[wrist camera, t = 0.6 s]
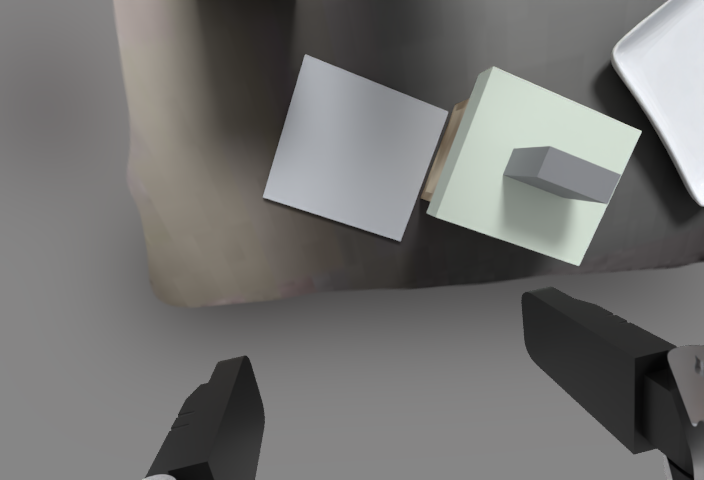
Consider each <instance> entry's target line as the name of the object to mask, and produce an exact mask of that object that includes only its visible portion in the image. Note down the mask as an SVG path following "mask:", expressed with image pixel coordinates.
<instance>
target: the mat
mask: <svg viewBox="0 0 704 480" xmlns="http://www.w3.org/2000/svg"><path fill="white" fill-rule="evenodd" d="M447 115H448V111H445V110H443V109H440V108H438V107H435V106H433V105H431V104H428V103H426V102H423V101H421V100H418V99H416V98H413V97H411V96H408V95H406V94H403V93H401V92H398V91H396V90H393V89H391V88H388V87H386V86H383V85H381V84H378V83H376V82H373V81H371V80H368V79H366V78H363V77H361V76H358V75H356V74H353V73H351V72H348V71H346V70H343V69H341V68H338V67H336V66H333V65H331V64H328V63H326V62H323V61H321V60H318V59H316V58H313V57H311V56H308V55H306V54H305V56H304V59H303V63H302V66H301V70H300V73H299V76H298V80H297V83H296V87H295V90H294V93H293V97H292V100H291V103H290V107H289V110H288V114H287V117H286V120H285V124H284V127H283V131H282V134H281V137H280V141H279V144H278V147H277V151H276V154H275V158H274V161H273V164H272V168H271V171H270V175H269V178H268V181H267V185H266V188H265V191H264V195H263V197H264V198H267V199H270V200H273V201H276V202H279V203H282V204H285V205H289V206H292V207H295V208H298V209H301V210H304V211H307V212H310V213H313V214H317V215H320V216H323V217H326V218H329V219H332V220H335V221H338V222H341V223H345V224H348V225H351V226H354V227H357V228H360V229H363V230H366V231H370V232H373V233H376V234H379V235H382V236H385V237H388V238H391V239H394V240H398V241H401V239H402V236H403V233H404V231H405V228H406V225H407V223H408V220H409V217H410V215H411V212H412V209H413V207H414V204H415V201H416V199H417V196H418V193H419V190H420V188H421V185H422V182H423V180H424V177H425V174H426V172H427V169H428V166H429V164H430V161H431V158H432V155H433V153H434V150H435V147H436V145H437V142H438V139H439V137H440V134H441V131H442V129H443V126H444V123H445V120H446V118H447Z"/></svg>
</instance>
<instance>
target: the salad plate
mask: <svg viewBox="0 0 704 480" xmlns="http://www.w3.org/2000/svg"><path fill="white" fill-rule="evenodd" d="M611 63H612V66H613V67H614V69H615V71H616V72H617V74H618V75H619V76H620V78H621V79H622V81H623V82H624V83H625V85H626V86H627V88H628V89H629V90H630V92H631V93H632V95H633V96H634V98H635V99H636V101H637V102H638V104H639V105H640V107H641V108H642V110H643V111H644V113H645V114H646V116H647V118H648V119H649V121H650V123H651V124H652V126H653V128H654V129H655V131H656V133H657V134H658V136H659V138H660V140H661V141H662V143H663V145H664V146H665V148H666V150H667V152H668V154H669V156H670V158H671V160H672V161H673V163H674V165H675V167H676V169H677V171H678V173H679V175H680V177H681V179H682V181H683V183H684V185H685V187H686V189H687V191H688V193H689V194H690V196H691V197H692V198H693V200H694V201H695V202H696V203H697V204H698V205H700V206H703V207H704V0H668V1H667V2H665V3H664V4H663V5H662V6H660V7H659V8H658V9H656V10H655V11H654V12H653V13H651V14H650V15H649V16H648V17H646V18H645V19H644V20H643V21H641V22H640V23H639V24H638V25H637V26H635V27H634V28H633V29H632V30H631V31H629V32H628V33H627V34H626V35H625V36H624V37H623V38H622V39H621V40H620V41H619V42H618V43H617V44H616V45H615V46H614V48H613V50H612V53H611Z"/></svg>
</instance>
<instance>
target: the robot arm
mask: <svg viewBox="0 0 704 480" xmlns="http://www.w3.org/2000/svg"><path fill="white" fill-rule="evenodd" d="M522 314H523V326H524V327H523V328H524V340H525V345H526V349H527V351H528V353H529V355H530V357H531V359H532V360H533V361H534V362H535V363H536V364H537V365H538V366H539V367H540V368H541V369H542V370H543V371H544V372H545V373H546V374H547V375H549V376H550V377H551V378H552V379H553V380H554V381H555V382H556V383H557V384H558V385H559V386H560V387H562V388H563V389H564V390H565V391H566V392H567V393H568V394H569V395H570V396H571V397H572V398H573V399H574V400H576V401H577V402H578V403H579V404H580V405H581V406H582V407H583V408H584V409H585V410H586V411H587V412H589V413H590V414H591V415H592V416H593V417H594V418H595V419H596V420H597V421H598V422H600V423H601V424H602V425H603V426H604V427H605V428H606V429H607V430H608V431H609V432H610V433H611V434H613V435H614V436H615V437H616V438H617V439H618V440H619V441H620V442H621V443H622V444H623V445H624V446H626V448H628V449H629V450H630V451H631V452H632V453H633V454H638V453H641V452H645V451H649V450H653V449H657V448H658V449H659V450H660V451H661V452H662V453H664V470H665V474H666V478H667V480H704V345H686V346H680V347H676V346H675V345H673V344H671V343H669V342H667V341H665V340H663V339H661V338H659V337H657V336H655V335H653V334H651V333H650V332H648V331H646V330H644V329H642V328H640V327H638V326H636V325H634V324H632V323H627V321H626V320H625V319H623V318H621V317H619V316H617V315H613V313H611V312H609V311H607V310H605V309H603V308H602V307H600V306H597V305H595V304H592V303H588V302H585V301H581V300H577V299H574V298H572V297H570V296H568V295H566V294H565V293H562V292H561V291H559V290H557V289H555V288H553V287H547V288H542V289H538V290H534V291H529V292H525V293H524V294H523V295H522ZM264 424H265V416H264V408H263V403H262V399H261V396H260V392H259V389H258V386H257V382H256V379H255V376H254V372H253V369H252V365H251V363H250V360H249V358H248V357H247V356H241V357H237V358H232V359H228V360H224V361H220V362H218V364H217V365H216V367H215V369H214V372H213V374H212V376H211V379H210V380H209V382H208V383H206V384H201V385H200V386H199V387H198V388H197V389H196V390H195V391H194V392H193V393H192V394H191V395H190V396H189V397H188V398H187V399H186V400H185V402H184V404H183V406H182V408H181V410H180V412H179V414H178V418H176V420H175V422H174V424H173V425H172V427H171V431H169V433H168V435H167V437H166V439H165V441H164V443H163V445H162V446H161V449H160V450H159V452H158V454H157V456H156V458H155V460H154V462H153V464H152V466H151V468H150V470H149V471H148V474H147V475H146V477H145V479H142V480H255V476H256V471H257V465H258V459H259V454H260V448H261V442H262V437H263V431H264Z"/></svg>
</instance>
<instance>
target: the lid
mask: <svg viewBox="0 0 704 480" xmlns="http://www.w3.org/2000/svg"><path fill="white" fill-rule="evenodd" d="M641 132H642V131H640V130H638V129H636V128H633V127H631V126H629V125H627V124H624V123H622V122H620V121H617V120H615V119H613V118H611V117H608V116H606V115H604V114H601V113H599V112H597V111H595V110H592V109H590V108H588V107H585V106H583V105H581V104H579V103H576V102H574V101H572V100H569V99H567V98H565V97H562V96H560V95H558V94H556V93H553V92H551V91H549V90H546V89H544V88H542V87H540V86H537V85H535V84H533V83H530V82H528V81H526V80H524V79H521V78H519V77H517V76H514V75H512V74H510V73H507V72H505V71H503V70H501V69H498V68H496V67H494V66H493V67H491V68H489V69H487V70H486V71H484V72H482V73H480V74H479V75H478V78H477V80H476V83H475V86H474V88H473V91H472V94H471V96H470V99H469V102H468V104H467V107H466V109H465V112H464V115H463V117H462V120H461V123H460V125H459V128H458V131H457V133H456V136H455V138H454V141H453V144H452V146H451V149H450V152H449V154H448V157H447V160H446V162H445V165H444V167H443V170H442V173H441V175H440V178H439V181H438V183H437V186H436V189H435V191H434V194H433V197H432V199H431V202H430V204H429V207H428V210H427V212H426V213H427V214H429V215H432V216H434V217H436V218H439V219H442V220H445V221H448V222H451V223H454V224H457V225H460V226H463V227H466V228H469V229H472V230H475V231H477V232H480V233H483V234H486V235H489V236H492V237H495V238H498V239H501V240H504V241H507V242H510V243H513V244H516V245H519V246H521V247H524V248H527V249H530V250H533V251H536V252H539V253H542V254H545V255H548V256H551V257H554V258H557V259H560V260H563V261H566V262H568V263H571V264H574V265H577V266H579V265H580V263H581V261H582V259H583V256H584V254H585V252H586V250H587V248H588V246H589V244H590V242H591V239H592V237H593V235H594V233H595V231H596V229H597V227H598V224H599V222H600V220H601V218H602V216H603V214H604V212H605V209H606V207H607V205H608V203H609V201H610V199H611V197H612V194H613V192H614V190H615V188H616V186H617V184H618V182H619V179H620V177H621V175H622V173H623V171H624V169H625V167H626V165H627V162H628V160H629V158H630V156H631V154H632V152H633V150H634V147H635V145H636V143H637V141H638V139H639V137H640V135H641Z"/></svg>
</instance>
